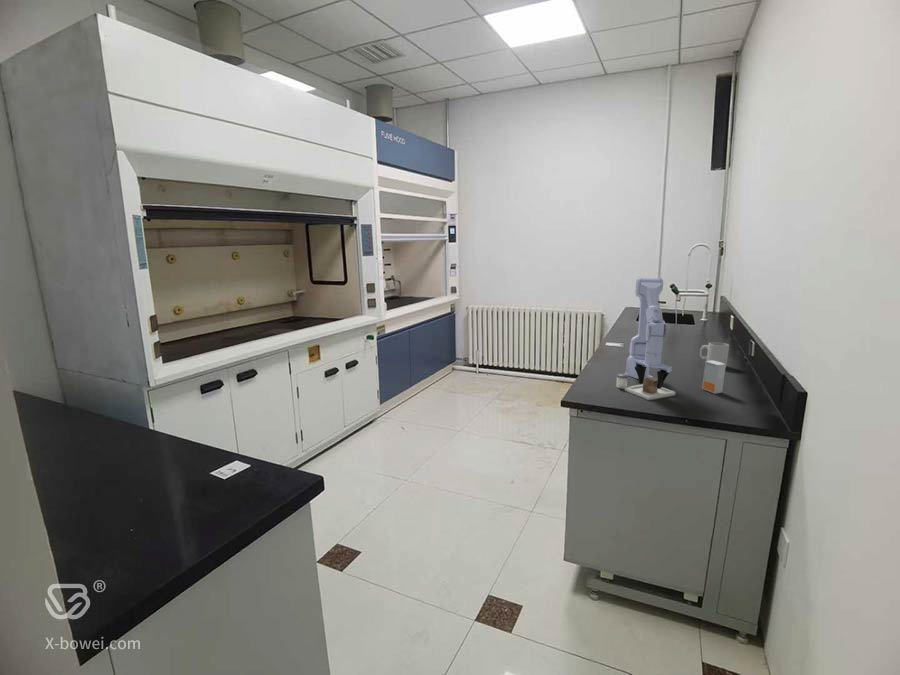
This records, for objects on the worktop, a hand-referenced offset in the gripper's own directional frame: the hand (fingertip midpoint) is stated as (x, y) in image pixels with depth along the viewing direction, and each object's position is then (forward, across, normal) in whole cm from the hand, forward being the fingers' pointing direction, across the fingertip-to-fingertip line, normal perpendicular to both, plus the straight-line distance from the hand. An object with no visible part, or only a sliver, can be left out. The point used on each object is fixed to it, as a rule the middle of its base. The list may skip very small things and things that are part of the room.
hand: (650, 385), depth 176 cm
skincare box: (+3, +14, +22) cm, 26 cm away
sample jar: (+3, -11, -2) cm, 12 cm away
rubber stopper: (+3, -6, +10) cm, 12 cm away
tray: (+3, 0, 0) cm, 3 cm away
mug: (+3, -2, +62) cm, 62 cm away
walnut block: (+2, 0, 0) cm, 2 cm away
